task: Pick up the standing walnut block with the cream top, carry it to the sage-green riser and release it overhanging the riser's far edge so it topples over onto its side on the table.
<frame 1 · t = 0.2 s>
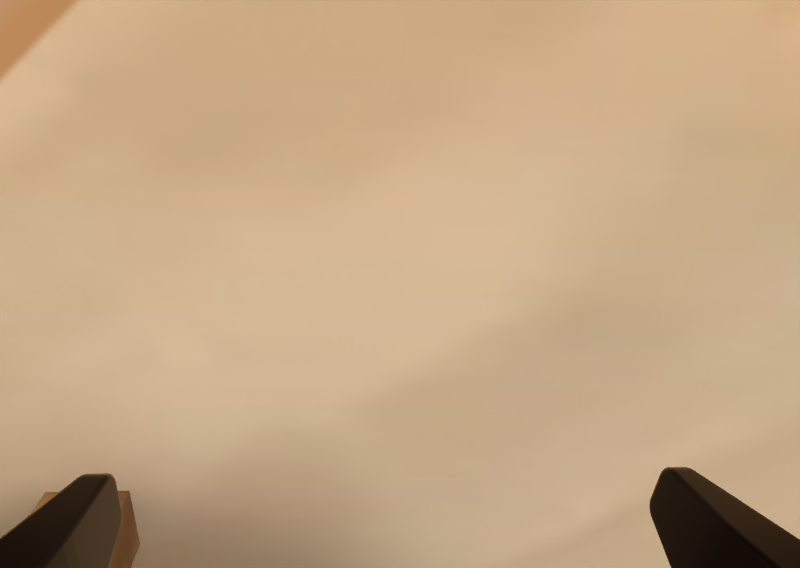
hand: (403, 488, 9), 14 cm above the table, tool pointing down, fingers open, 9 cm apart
walnut block: (94, 519, 27), on the table
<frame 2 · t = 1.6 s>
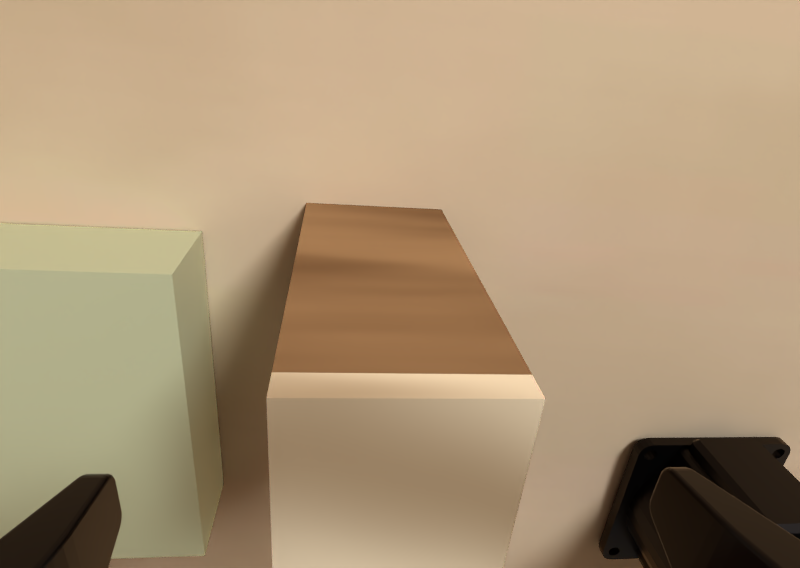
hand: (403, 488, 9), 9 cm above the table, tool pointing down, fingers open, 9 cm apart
riser: (19, 371, 17), on the table
walnut block: (371, 268, 16), on the table
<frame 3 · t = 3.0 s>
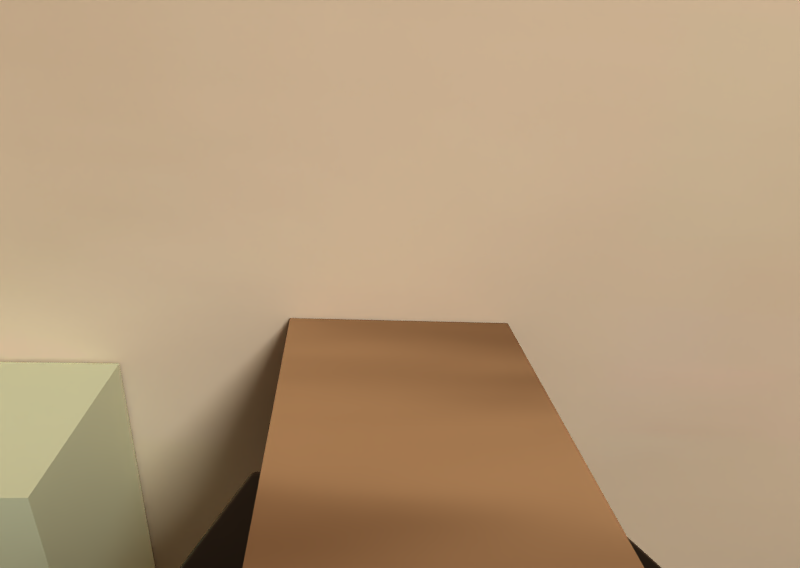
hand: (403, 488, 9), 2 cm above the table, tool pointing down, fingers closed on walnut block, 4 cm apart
walnut block: (393, 408, 10), on the table, touching gripper
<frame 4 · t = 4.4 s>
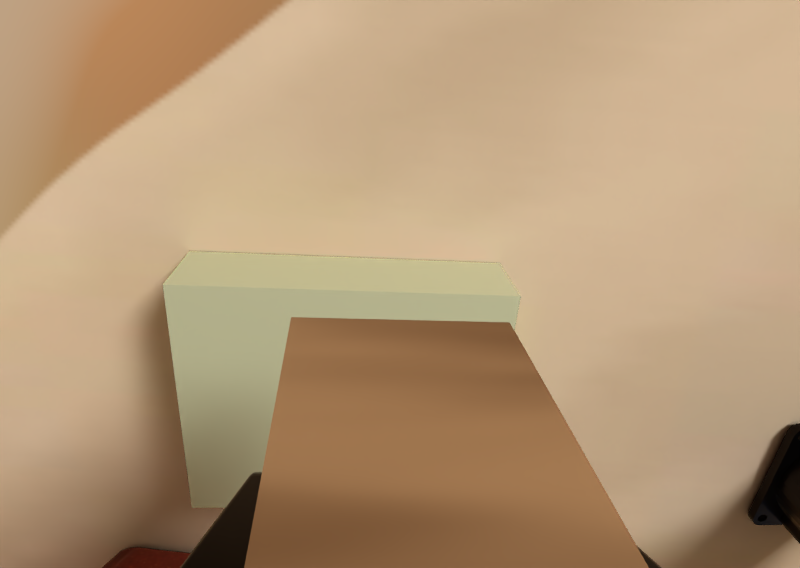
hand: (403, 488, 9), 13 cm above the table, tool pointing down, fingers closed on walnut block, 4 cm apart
riser: (345, 365, 22), on the table
walnut block: (394, 407, 10), point 11 cm above the table, touching gripper
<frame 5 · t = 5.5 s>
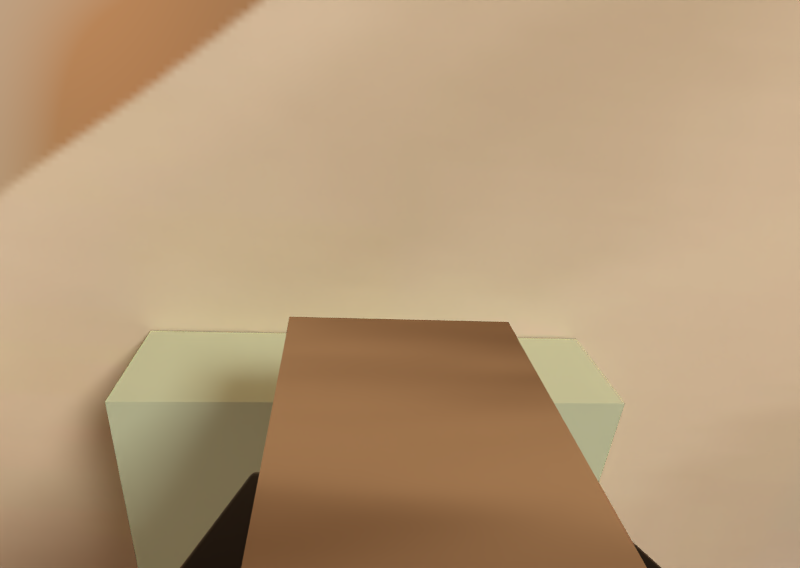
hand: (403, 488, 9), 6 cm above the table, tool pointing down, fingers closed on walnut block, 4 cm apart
riser: (364, 467, 17), on the table
walnut block: (393, 407, 10), point 4 cm above the table, touching gripper
when the fingers open (6 cm above the table, at t = 5.9 s): walnut block drops 2 cm and tips over, point 2 cm above the table.
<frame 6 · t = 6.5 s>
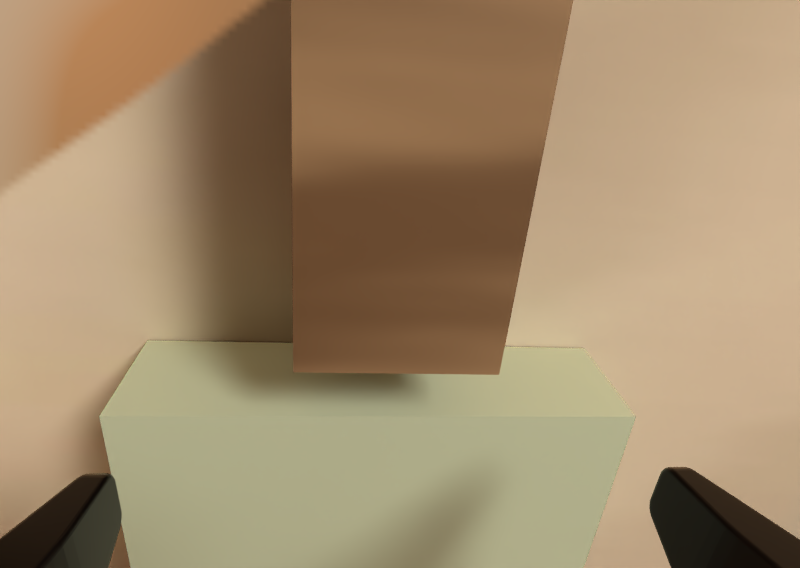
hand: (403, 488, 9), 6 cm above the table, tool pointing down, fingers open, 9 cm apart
riser: (366, 479, 16), on the table
walnut block: (390, 321, 12), point 2 cm above the table, tilted 90°
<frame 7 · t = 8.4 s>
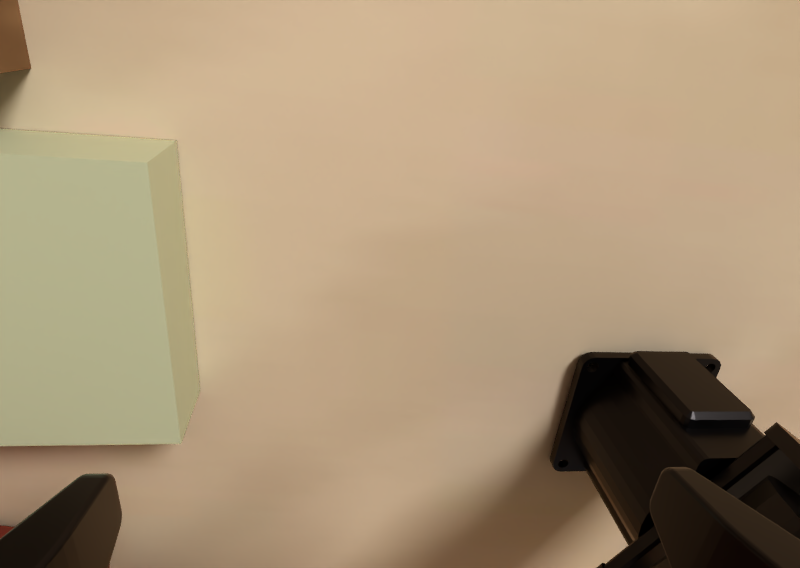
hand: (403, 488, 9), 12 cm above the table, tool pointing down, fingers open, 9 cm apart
riser: (8, 274, 18), on the table
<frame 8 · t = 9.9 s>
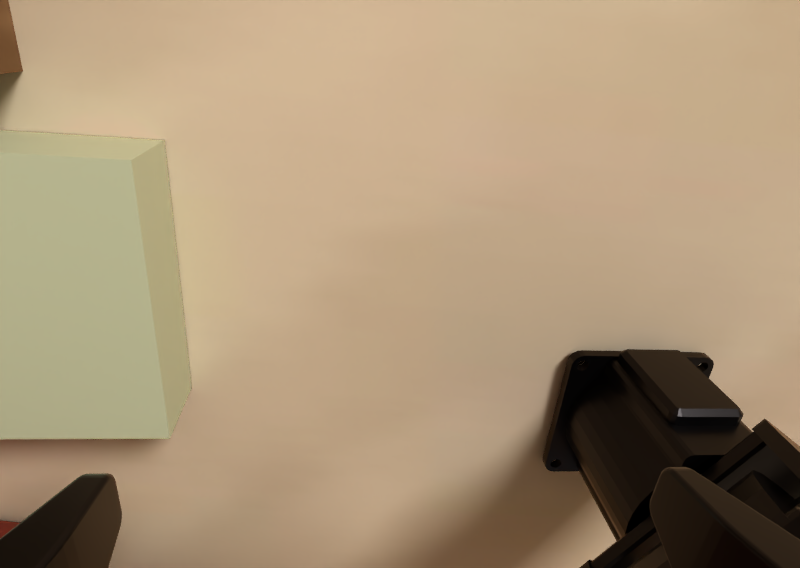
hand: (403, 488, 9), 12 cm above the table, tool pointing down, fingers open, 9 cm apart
riser: (4, 272, 19), on the table
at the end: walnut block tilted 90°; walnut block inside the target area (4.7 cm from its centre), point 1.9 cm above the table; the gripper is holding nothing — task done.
